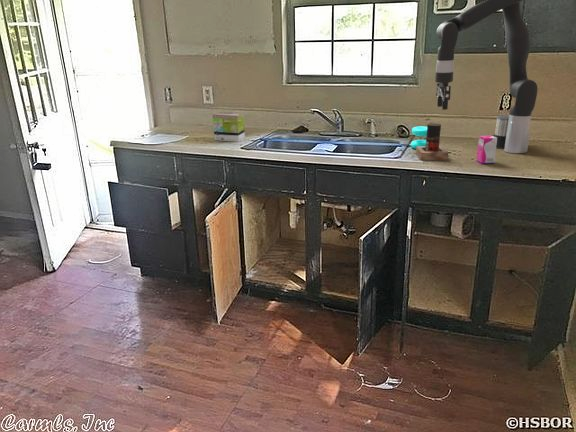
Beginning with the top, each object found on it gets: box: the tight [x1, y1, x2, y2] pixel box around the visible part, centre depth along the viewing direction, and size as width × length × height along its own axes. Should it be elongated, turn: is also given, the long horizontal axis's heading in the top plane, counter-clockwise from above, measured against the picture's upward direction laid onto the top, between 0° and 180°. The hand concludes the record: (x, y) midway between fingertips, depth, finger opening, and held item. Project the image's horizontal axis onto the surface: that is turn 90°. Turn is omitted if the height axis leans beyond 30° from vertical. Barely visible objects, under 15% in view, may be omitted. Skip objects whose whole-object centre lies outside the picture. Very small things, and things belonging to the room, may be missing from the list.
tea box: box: [212, 111, 246, 143], centre depth 265 cm, size 15×10×15 cm
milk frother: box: [489, 115, 509, 150], centre depth 236 cm, size 14×16×15 cm
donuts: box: [410, 126, 427, 150], centre depth 236 cm, size 10×10×10 cm
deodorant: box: [425, 122, 442, 152], centre depth 218 cm, size 6×6×15 cm
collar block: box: [415, 145, 449, 161], centre depth 220 cm, size 12×12×4 cm
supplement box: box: [476, 135, 497, 165], centre depth 207 cm, size 6×6×12 cm
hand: (442, 108), depth 216 cm, fingers open, 8 cm apart
